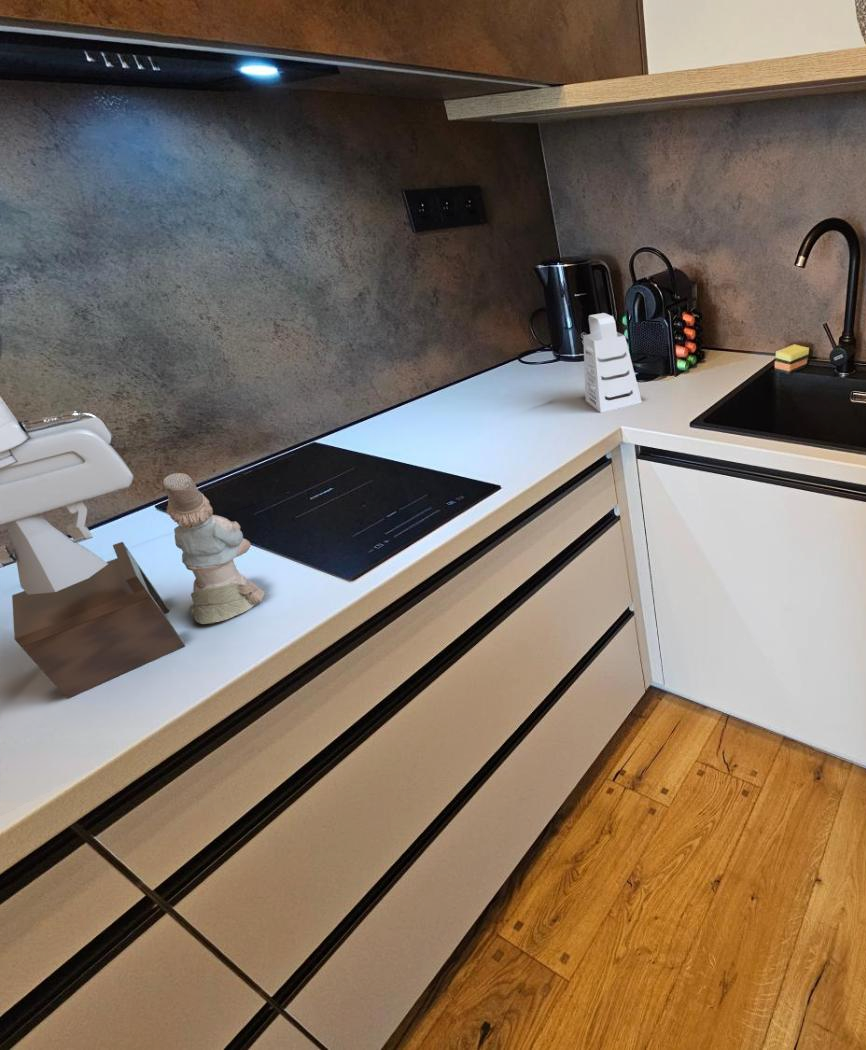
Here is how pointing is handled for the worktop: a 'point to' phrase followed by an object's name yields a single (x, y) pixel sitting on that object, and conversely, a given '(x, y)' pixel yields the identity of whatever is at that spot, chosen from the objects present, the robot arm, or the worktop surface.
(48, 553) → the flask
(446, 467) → the worktop surface
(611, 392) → the grater
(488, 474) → the worktop surface
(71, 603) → the wooden block with backboard
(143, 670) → the worktop surface
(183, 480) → the figurine
